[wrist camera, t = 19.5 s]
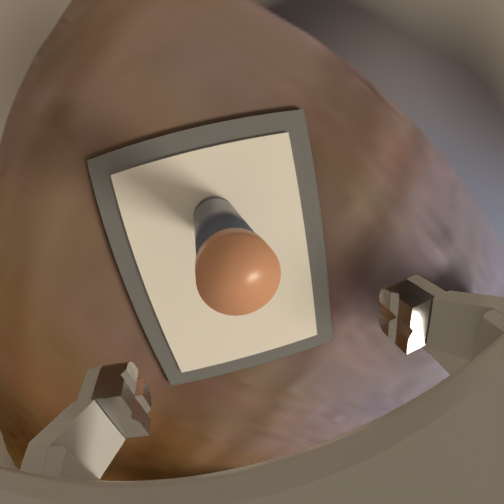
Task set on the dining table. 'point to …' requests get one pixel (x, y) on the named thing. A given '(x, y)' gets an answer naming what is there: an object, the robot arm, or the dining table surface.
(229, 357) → the mat
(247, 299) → the marker
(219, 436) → the dining table surface
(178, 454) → the dining table surface
